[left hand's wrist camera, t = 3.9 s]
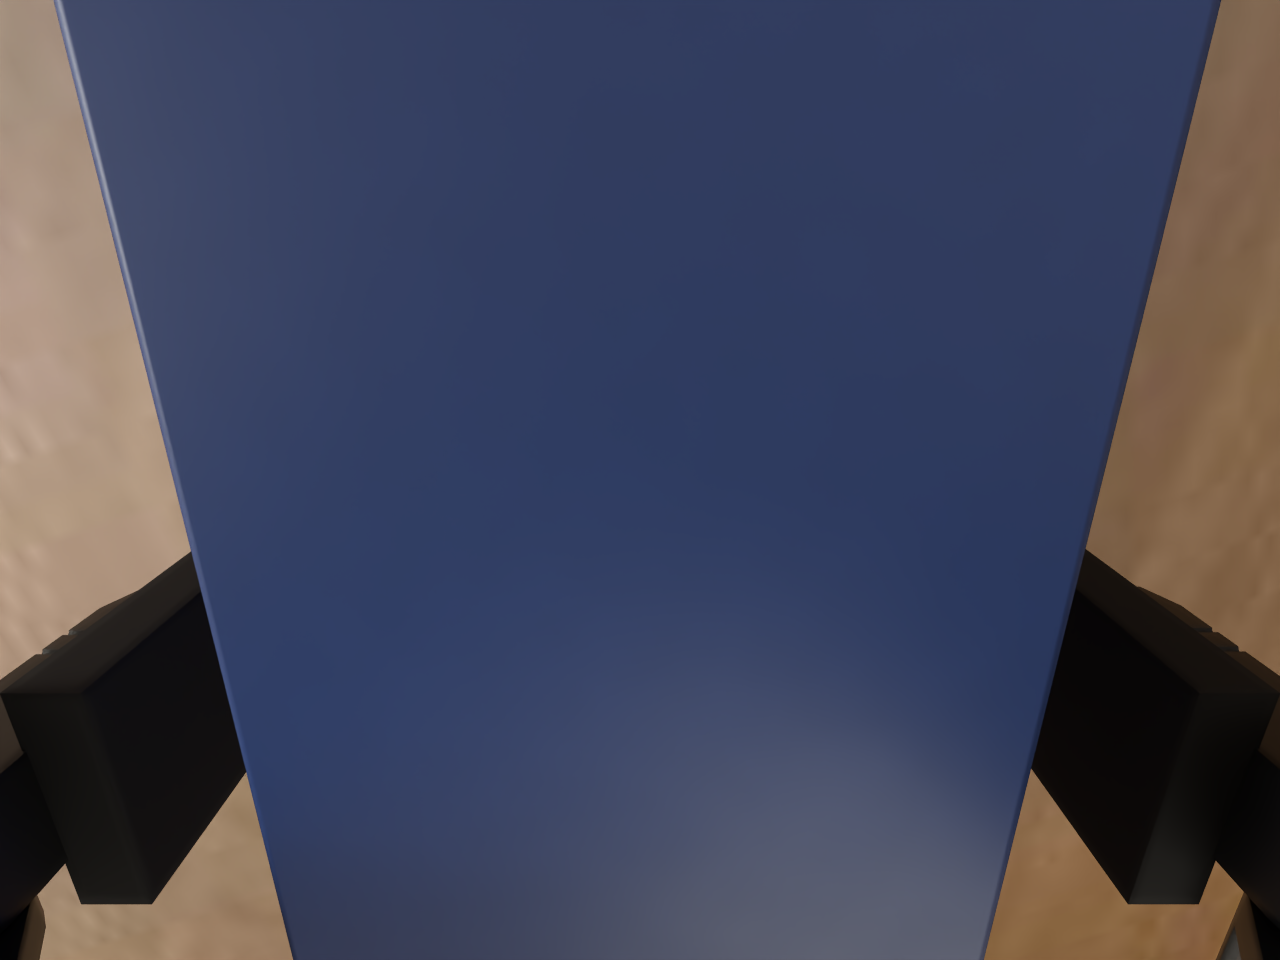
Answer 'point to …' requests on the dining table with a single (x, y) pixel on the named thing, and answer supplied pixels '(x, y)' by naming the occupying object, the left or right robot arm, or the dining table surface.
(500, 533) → the bar
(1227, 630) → the dining table surface
